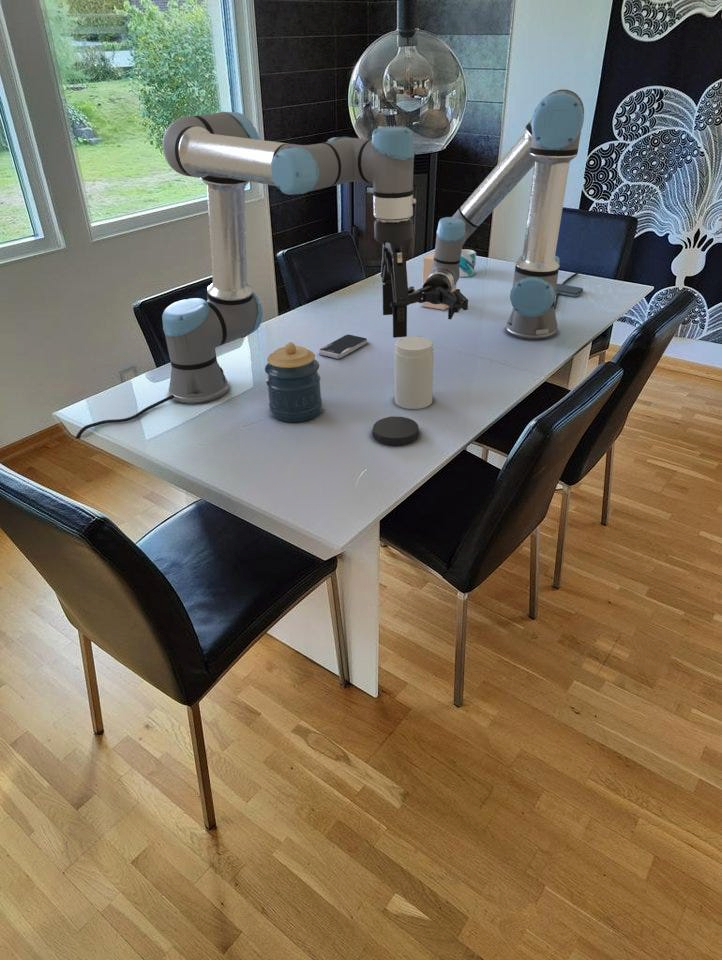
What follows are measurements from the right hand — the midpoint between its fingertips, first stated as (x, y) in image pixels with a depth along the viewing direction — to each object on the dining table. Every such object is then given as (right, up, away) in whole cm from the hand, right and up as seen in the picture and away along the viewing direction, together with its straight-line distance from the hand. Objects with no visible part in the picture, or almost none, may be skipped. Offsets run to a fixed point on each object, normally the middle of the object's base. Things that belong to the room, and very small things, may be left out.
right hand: (422, 312), depth 167 cm
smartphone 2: (+55, +25, +71) cm, 93 cm away
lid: (-7, -30, -13) cm, 34 cm away
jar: (-2, -22, +2) cm, 22 cm away
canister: (-31, -25, -1) cm, 40 cm away
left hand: (-8, -9, -27) cm, 29 cm away
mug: (+26, +39, +94) cm, 105 cm away
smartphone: (-21, -3, +33) cm, 39 cm away
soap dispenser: (+13, +19, +65) cm, 69 cm away
